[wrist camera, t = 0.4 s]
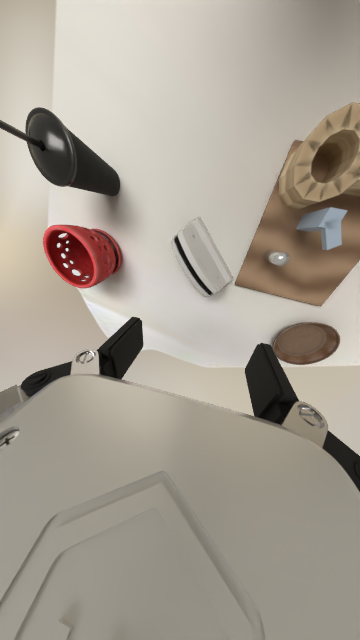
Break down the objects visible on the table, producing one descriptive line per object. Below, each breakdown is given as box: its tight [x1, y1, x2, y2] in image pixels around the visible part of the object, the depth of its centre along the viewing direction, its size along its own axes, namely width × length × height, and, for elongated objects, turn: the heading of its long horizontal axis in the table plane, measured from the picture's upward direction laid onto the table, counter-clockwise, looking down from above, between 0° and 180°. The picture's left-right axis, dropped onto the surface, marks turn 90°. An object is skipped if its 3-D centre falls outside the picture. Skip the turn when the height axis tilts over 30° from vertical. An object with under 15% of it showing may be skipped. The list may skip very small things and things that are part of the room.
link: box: [279, 102, 360, 209], centre depth 21 cm, size 20×9×6 cm, turn 79°
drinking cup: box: [0, 108, 120, 196], centre depth 23 cm, size 8×8×20 cm
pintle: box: [264, 250, 289, 266], centre depth 29 cm, size 2×2×8 cm
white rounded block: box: [171, 217, 233, 297], centre depth 32 cm, size 17×5×10 cm, turn 36°
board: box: [235, 140, 360, 306], centre depth 29 cm, size 24×21×1 cm
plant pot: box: [43, 225, 121, 288], centre depth 35 cm, size 13×13×12 cm
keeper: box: [296, 207, 348, 250], centre depth 25 cm, size 5×5×8 cm
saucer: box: [273, 323, 340, 365], centre depth 39 cm, size 15×15×3 cm
